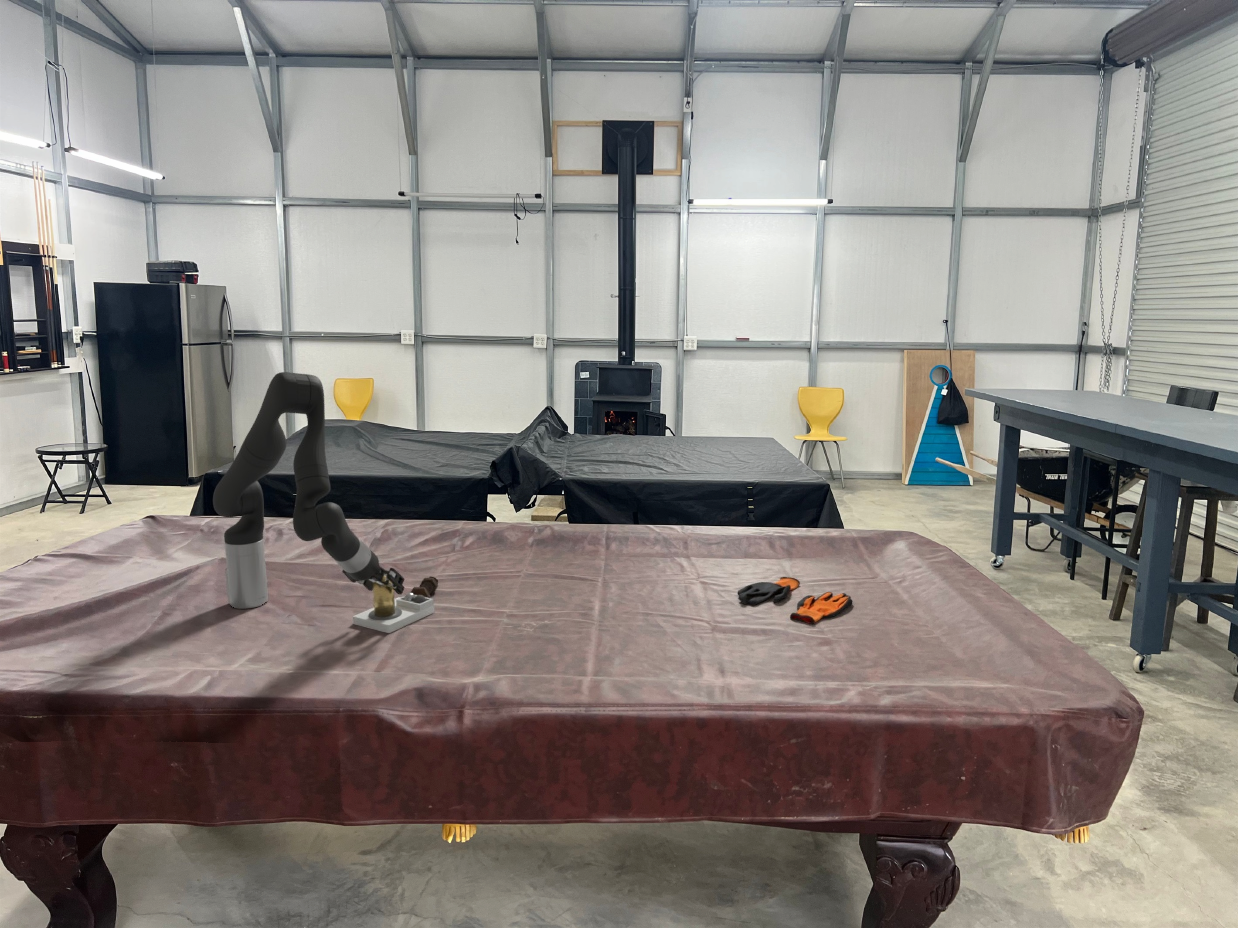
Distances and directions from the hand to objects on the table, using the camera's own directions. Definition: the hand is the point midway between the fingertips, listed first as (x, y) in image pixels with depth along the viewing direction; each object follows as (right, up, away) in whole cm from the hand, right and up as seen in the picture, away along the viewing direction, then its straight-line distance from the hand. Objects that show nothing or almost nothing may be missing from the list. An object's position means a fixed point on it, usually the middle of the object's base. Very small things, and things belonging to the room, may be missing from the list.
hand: (386, 589), depth 207 cm
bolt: (+6, -5, +19) cm, 20 cm away
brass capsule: (-1, -6, 0) cm, 6 cm away
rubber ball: (+7, -4, +5) cm, 10 cm away
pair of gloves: (+105, -6, +16) cm, 106 cm away
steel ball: (+4, -3, +7) cm, 9 cm away
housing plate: (+1, -8, +3) cm, 8 cm away
